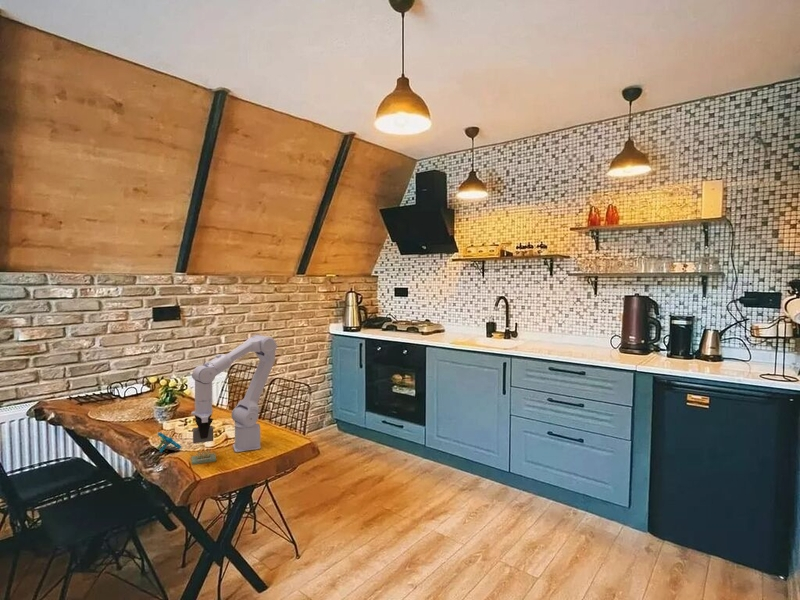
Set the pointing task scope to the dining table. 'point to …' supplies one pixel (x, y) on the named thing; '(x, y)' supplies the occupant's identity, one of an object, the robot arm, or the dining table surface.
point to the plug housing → (198, 439)
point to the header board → (203, 458)
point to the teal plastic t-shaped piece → (166, 442)
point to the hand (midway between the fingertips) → (203, 436)
